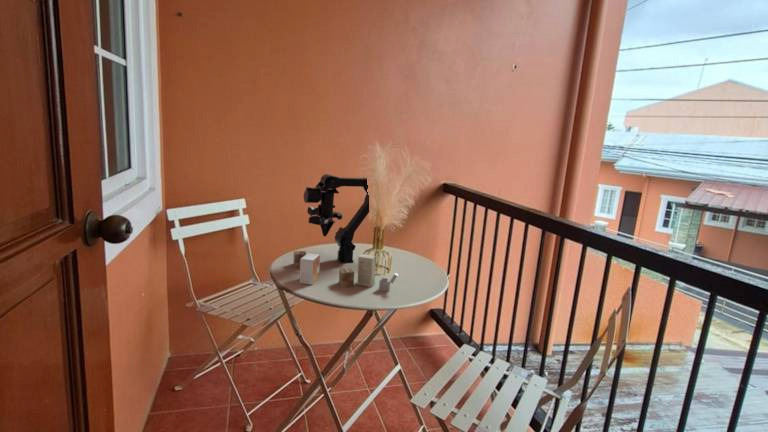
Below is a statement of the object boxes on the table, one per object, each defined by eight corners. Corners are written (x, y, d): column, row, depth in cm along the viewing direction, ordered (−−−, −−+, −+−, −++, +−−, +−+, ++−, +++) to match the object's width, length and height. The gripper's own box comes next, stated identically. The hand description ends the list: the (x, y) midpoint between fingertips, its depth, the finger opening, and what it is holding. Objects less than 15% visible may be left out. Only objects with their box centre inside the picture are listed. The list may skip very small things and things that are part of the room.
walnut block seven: (304, 263, 181) (305, 250, 180) (306, 267, 177) (306, 254, 175) (293, 263, 180) (293, 250, 178) (294, 267, 175) (295, 254, 174)
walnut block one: (350, 281, 164) (351, 267, 163) (353, 286, 160) (354, 272, 158) (338, 282, 163) (339, 268, 161) (341, 287, 158) (342, 272, 157)
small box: (312, 285, 158) (313, 260, 155) (299, 283, 159) (300, 258, 156) (319, 278, 166) (320, 254, 163) (307, 276, 167) (307, 252, 164)
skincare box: (374, 283, 164) (376, 255, 161) (371, 287, 160) (373, 259, 157) (360, 280, 166) (362, 253, 163) (356, 284, 162) (358, 256, 159)
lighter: (378, 290, 158) (380, 271, 156) (379, 288, 159) (381, 270, 157) (396, 293, 156) (397, 274, 154) (397, 291, 158) (398, 272, 156)
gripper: (324, 197, 189) (322, 229, 192) (299, 202, 172) (297, 236, 176) (344, 201, 184) (341, 233, 187) (320, 206, 168) (318, 241, 171)
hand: (324, 236), depth 180 cm, fingers closed
